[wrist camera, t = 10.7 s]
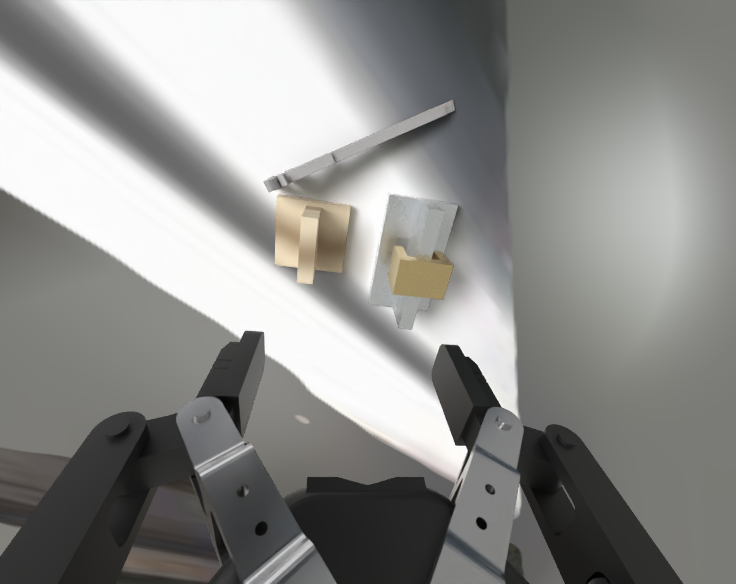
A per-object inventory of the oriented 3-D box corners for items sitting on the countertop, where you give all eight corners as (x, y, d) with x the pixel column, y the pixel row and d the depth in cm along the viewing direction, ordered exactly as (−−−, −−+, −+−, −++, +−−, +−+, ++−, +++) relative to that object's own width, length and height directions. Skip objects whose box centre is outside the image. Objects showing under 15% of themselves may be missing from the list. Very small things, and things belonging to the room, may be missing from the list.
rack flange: (388, 192, 34) (396, 203, 29) (455, 203, 35) (475, 216, 30) (368, 300, 40) (371, 325, 35) (425, 306, 41) (437, 332, 36)
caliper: (275, 186, 33) (261, 197, 28) (270, 177, 33) (255, 186, 27) (453, 110, 31) (478, 105, 26) (451, 99, 31) (475, 91, 25)
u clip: (394, 245, 34) (400, 259, 30) (441, 251, 35) (453, 265, 31) (387, 277, 36) (392, 294, 32) (432, 282, 36) (443, 299, 33)
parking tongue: (278, 194, 33) (266, 205, 28) (350, 205, 34) (352, 218, 29) (276, 261, 37) (265, 283, 32) (341, 269, 38) (341, 291, 33)
